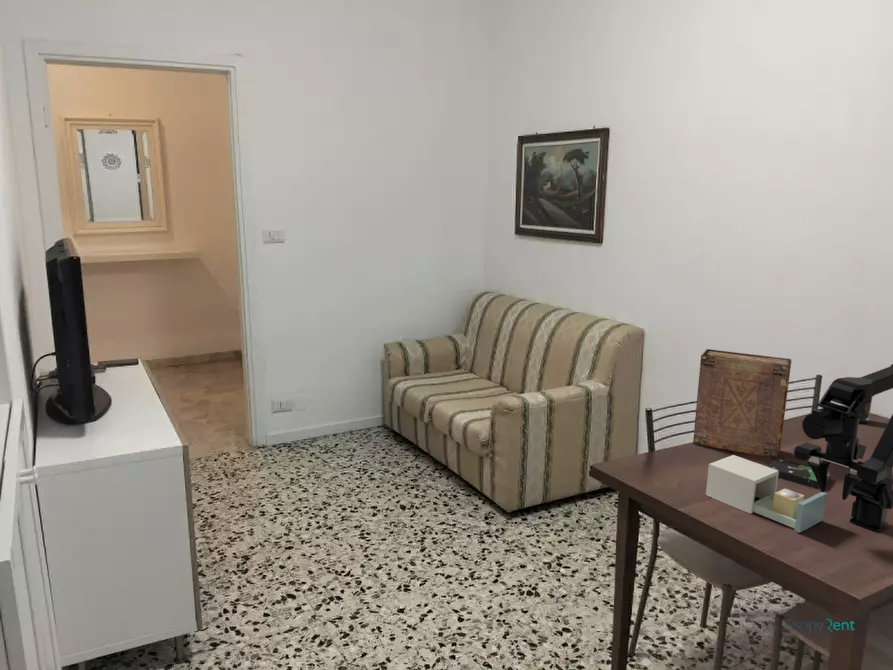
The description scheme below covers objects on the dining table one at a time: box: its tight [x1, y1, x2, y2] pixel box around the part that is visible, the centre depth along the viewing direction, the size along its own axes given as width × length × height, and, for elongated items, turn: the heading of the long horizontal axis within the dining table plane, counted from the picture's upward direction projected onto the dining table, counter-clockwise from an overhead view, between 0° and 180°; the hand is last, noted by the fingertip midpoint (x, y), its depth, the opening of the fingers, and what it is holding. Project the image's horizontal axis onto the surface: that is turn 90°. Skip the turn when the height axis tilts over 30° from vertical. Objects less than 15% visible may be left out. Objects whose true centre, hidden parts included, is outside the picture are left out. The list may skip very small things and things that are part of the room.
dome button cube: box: [772, 488, 805, 519], centre depth 171 cm, size 5×5×5 cm
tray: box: [753, 491, 828, 534], centre depth 171 cm, size 13×11×7 cm
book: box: [692, 348, 792, 460], centre depth 215 cm, size 25×9×30 cm, turn 61°
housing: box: [705, 454, 779, 515], centre depth 181 cm, size 13×11×9 cm
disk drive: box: [765, 457, 832, 490], centre depth 197 cm, size 10×3×15 cm
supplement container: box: [859, 399, 873, 424], centre depth 245 cm, size 7×7×10 cm
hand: (833, 495), depth 161 cm, fingers open, 5 cm apart
